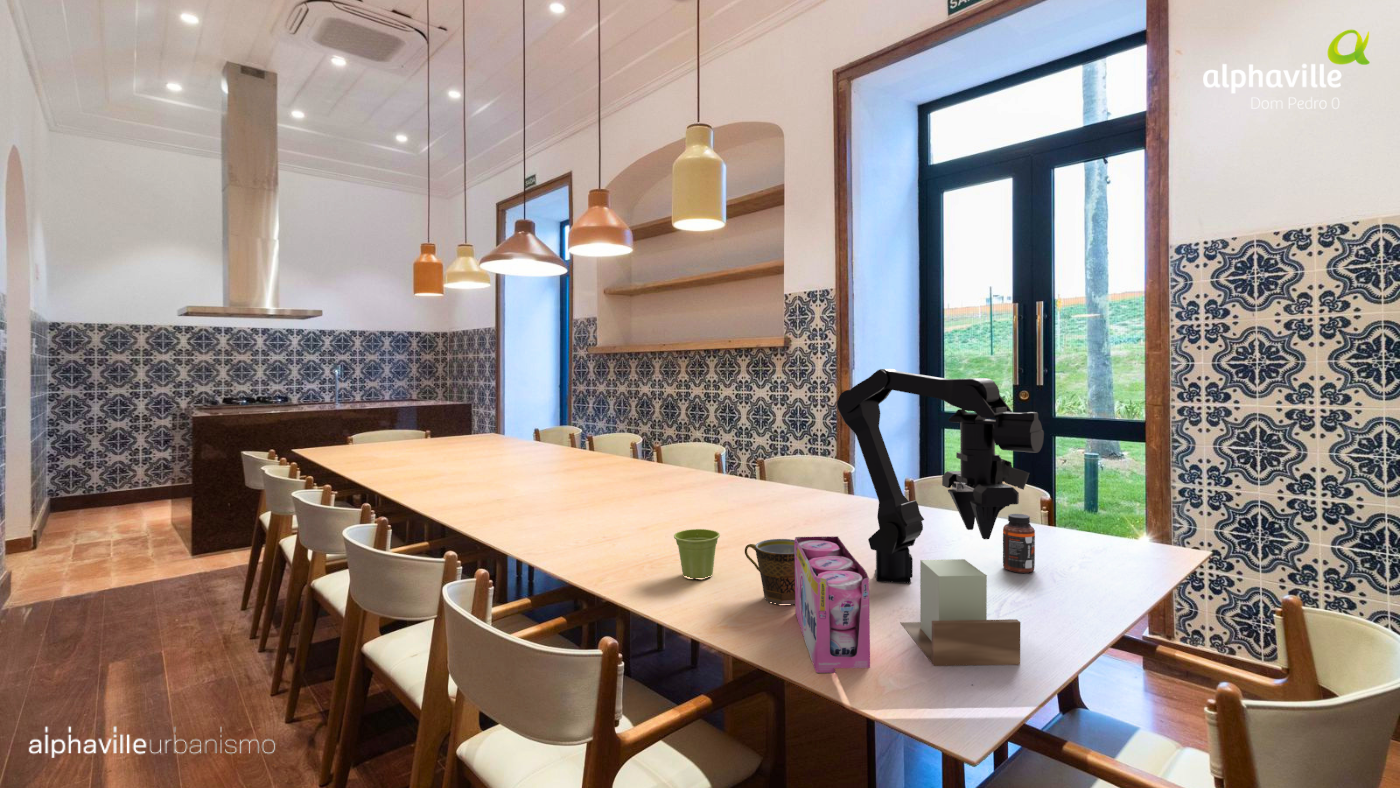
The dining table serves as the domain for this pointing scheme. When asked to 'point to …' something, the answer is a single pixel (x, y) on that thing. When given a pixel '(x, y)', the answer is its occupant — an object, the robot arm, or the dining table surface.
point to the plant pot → (697, 551)
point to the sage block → (951, 592)
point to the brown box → (969, 642)
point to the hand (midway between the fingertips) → (977, 534)
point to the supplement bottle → (1019, 544)
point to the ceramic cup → (776, 569)
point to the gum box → (832, 604)
